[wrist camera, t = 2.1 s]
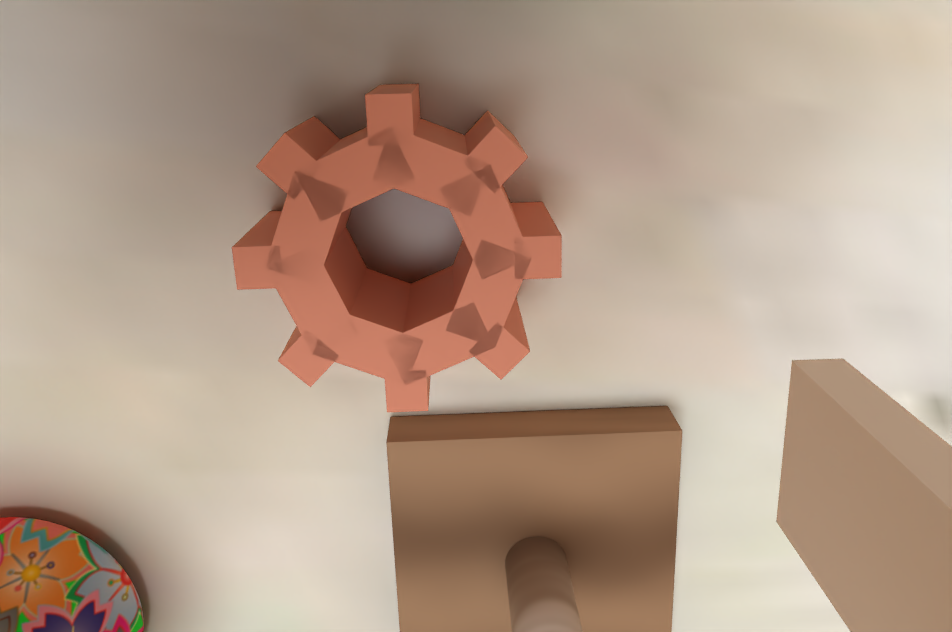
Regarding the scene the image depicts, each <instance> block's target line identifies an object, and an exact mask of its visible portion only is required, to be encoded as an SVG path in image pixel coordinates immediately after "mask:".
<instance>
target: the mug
mask: <svg viewBox="0 0 952 632" xmlns="http://www.w3.org/2000/svg"><path fill="white" fill-rule="evenodd" d="M143 630H144V619H143V611H142V606H141V602H140V599H139V596H138V594H137V591H136V589H135V587H134V585H133V583H132V581H131V580H130V578H129V576H128V575H127V573H126V572H125V571H124V569H123V568H122V567H121V565H120V564H119V563H118V562H117V561H116V560H115V559H114V558H113V557H112V556H111V555H110V554H109V553H108V552H107V551H106V550H104V549H103V548H102V547H101V546H100V545H98V544H97V543H95V542H94V541H92V540H91V539H89V538H87V537H86V536H84V535H82V534H80V533H78V532H76V531H74V530H72V529H70V528H67V527H64V526H62V525H59V524H55V523H52V522H48V521H44V520H39V519H32V518H22V517H2V518H0V632H143Z"/></svg>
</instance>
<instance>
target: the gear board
mask: <svg viewBox="0 0 952 632" xmlns="http://www.w3.org/2000/svg"><path fill="white" fill-rule="evenodd" d="M681 444H682V430H681V428H680V426H679V424H678V423H677V421H676V419H675V418H674V416H673V414H672V413H671V411H670V409H669V407H668V406H653V407H627V408H602V409H577V410H551V411H526V412H500V413H475V414H449V415H424V416H398V417H391V418H390V424H389V430H388V436H387V456H388V470H389V485H390V499H391V513H392V527H393V541H394V555H395V569H396V583H397V597H398V611H399V625H400V632H671V627H672V609H673V591H674V572H675V554H676V536H677V517H678V499H679V480H680V462H681Z"/></svg>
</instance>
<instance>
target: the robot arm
mask: <svg viewBox="0 0 952 632" xmlns="http://www.w3.org/2000/svg"><path fill="white" fill-rule="evenodd" d="M776 522H777V523H778V525H779V526H780V528H781V529H782V531H783V532H784V534H785V535H786V537H787V538H788V539H789V541H790V542H791V544H792V545H793V547H794V548H795V550H796V551H797V553H798V554H799V556H800V557H801V559H802V560H803V562H804V563H805V565H806V566H807V568H808V569H809V571H810V572H811V574H812V575H813V577H814V578H815V580H816V581H817V582H818V584H819V585H820V587H821V588H822V590H823V591H824V593H825V594H826V596H827V597H828V599H829V600H830V602H831V603H832V605H833V606H834V608H835V609H836V611H837V612H838V614H839V615H840V617H841V618H842V620H843V621H844V622H845V624H846V625H847V627H848V628H849V630H850V631H851V632H952V446H950V445H949V444H948V443H947V442H945V441H944V440H943V439H942V438H940V437H939V436H938V435H937V434H936V433H934V432H933V431H932V430H931V429H929V428H928V427H927V426H926V425H924V424H923V423H922V422H921V421H919V420H918V419H917V418H916V417H915V416H913V415H912V414H911V413H910V412H908V411H907V410H906V409H905V408H903V407H902V406H901V405H900V404H899V403H897V402H896V401H895V400H894V399H892V398H891V397H890V396H889V395H887V394H886V393H885V392H884V391H882V390H881V389H880V388H879V387H878V386H876V385H875V384H874V383H873V382H871V381H870V380H869V379H868V378H866V377H865V376H864V375H863V374H861V373H860V372H859V371H858V370H857V369H855V368H854V367H853V366H852V365H850V364H849V363H848V362H847V361H845V360H844V359H817V360H792V366H791V376H790V387H789V397H788V407H787V418H786V428H785V438H784V448H783V459H782V469H781V479H780V489H779V500H778V510H777V520H776Z"/></svg>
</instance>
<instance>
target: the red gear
mask: <svg viewBox="0 0 952 632" xmlns="http://www.w3.org/2000/svg"><path fill="white" fill-rule="evenodd" d="M365 103H366V117H367V127H366V128H363V129H361V130H359V131H357V132H355V133H353V134H351V135H348V136H346V137H344V138H342V139H339V138H338V137H337V136H336V135H335V134H334V133H333V132H332V131H331V130H329V129H328V128H327V127H326V126H325V125H324V124H323V123H322V122H321V121H320V120H318V119H317V118H316V117H315V116H314V117H312V118H310V119H308V120H307V121H305V122H303V123H301V124H299V125H298V126H296V127H294V128H292V129H291V130H289V131H287V132H285V133H284V134H283V135H282V137H281V138H280V139H279V140H278V141H277V142H276V144H275V145H274V146H273V147H272V148H271V149H270V151H269V152H268V153H267V154H266V155H265V156H264V158H263V159H262V160H261V161H260V162H259V163H258V165H257V166H256V167H257V168H258V169H259V170H260V171H261V172H263V173H264V174H265V175H266V176H267V177H268V178H270V179H271V180H272V181H273V182H274V183H275V184H276V185H278V186H279V187H280V188H281V189H282V190H283V191H284V192H286V193H287V197H286V200H285V203H284V206H283V210H282V211H270V212H269V213H268V214H266V215H265V216H264V217H263V218H262V219H261V220H260V221H259V222H258V223H257V224H256V225H255V226H254V227H253V228H252V229H251V230H250V231H249V232H247V233H246V234H245V235H244V236H243V237H242V238H241V239H240V240H239V241H238V242H237V243H236V244H235V245H234V246H233V247H232V253H233V260H234V268H235V276H236V284H237V290H239V289H266V288H276V289H277V291H278V293H279V295H280V296H281V298H282V300H283V302H284V304H285V305H286V307H287V309H288V311H289V313H290V315H291V316H292V318H293V320H294V322H295V324H296V325H297V326H296V328H295V330H294V332H293V334H292V335H291V337H290V339H289V341H288V343H287V345H286V347H285V348H284V350H283V352H282V354H281V356H280V358H279V360H278V361H279V362H280V363H281V364H282V365H284V366H285V367H286V368H287V369H289V370H290V371H291V372H292V373H294V374H295V375H296V376H297V377H298V378H300V379H301V380H302V381H303V382H305V383H306V384H307V385H308V386H310V387H311V386H312V385H313V384H314V383H315V382H316V381H317V380H318V378H319V377H320V376H321V375H322V374H323V373H324V372H325V371H326V370H327V369H328V368H329V367H330V366H331V365H332V364H333V363H334V362H337V363H340V364H343V365H346V366H349V367H352V368H355V369H358V370H361V371H364V372H367V373H370V374H373V375H376V376H378V377H381V378H384V379H385V389H386V403H387V412H408V411H428V405H429V389H430V375H432V374H435V373H437V372H439V371H441V370H444V369H446V368H448V367H451V366H453V365H455V364H458V363H460V362H462V361H465V360H467V359H469V358H472V357H476V358H477V359H478V360H479V361H480V362H481V363H482V364H484V365H485V366H486V367H487V368H488V369H489V370H490V371H492V372H493V373H494V374H495V375H496V376H497V377H499V378H500V379H502V378H503V377H504V376H505V375H506V374H507V373H508V372H509V371H510V370H511V369H513V368H514V367H515V366H516V365H517V364H518V363H519V362H520V361H521V360H522V359H523V358H524V357H525V356H526V355H527V354H528V353H529V352H530V349H529V345H528V341H527V337H526V333H525V329H524V325H523V321H522V317H521V314H520V310H519V306H518V302H517V299H516V295H517V293H518V290H519V288H520V285H521V283H522V281H523V279H540V278H561V234H560V232H559V230H558V229H557V227H556V225H555V223H554V221H553V220H552V218H551V216H550V214H549V212H548V211H547V209H546V207H545V205H544V204H543V202H520V203H510V201H509V199H508V197H507V194H506V192H505V190H504V188H503V185H502V184H503V183H504V182H505V181H506V180H507V179H508V178H509V177H510V176H511V175H512V174H513V173H514V172H515V171H516V170H517V169H518V168H519V166H520V165H521V164H522V163H523V162H524V161H525V160H526V159H527V158H528V156H527V155H526V153H525V152H524V150H523V149H522V147H521V146H520V144H519V142H518V141H517V139H516V138H515V136H514V135H513V134H512V133H510V132H509V131H508V130H507V129H506V128H505V127H504V126H503V125H502V124H501V123H500V122H499V121H498V120H497V119H496V118H495V117H494V116H493V115H492V114H491V113H490V112H489V111H488V110H487V112H486V113H485V114H484V115H483V116H482V117H481V118H480V119H479V120H478V121H477V122H476V124H475V125H474V126H473V127H472V128H471V129H470V130H469V131H468V132H467V133H466V134H465V135H463V134H460V133H458V132H455V131H453V130H450V129H447V128H445V127H442V126H440V125H437V124H434V123H432V122H429V121H427V120H424V119H421V118H420V101H419V84H388V85H379V86H378V87H376V88H375V89H373V90H372V91H370V92H368V93H367V94H365ZM394 188H395V189H397V190H400V191H403V192H405V193H408V194H411V195H414V196H416V197H419V198H422V199H424V200H427V201H430V202H432V203H435V204H438V205H441V206H443V207H446V208H449V209H450V211H451V214H452V216H453V218H454V220H455V222H456V224H457V227H458V229H459V231H460V233H461V235H462V237H463V240H462V243H461V245H460V248H459V251H458V253H457V256H456V258H455V261H454V264H453V265H452V266H450V267H447V268H445V269H443V270H441V271H438V272H436V273H434V274H432V275H429V276H427V277H425V278H423V279H420V280H418V281H416V282H414V283H411V284H410V283H408V282H405V281H402V280H399V279H396V278H393V277H391V276H388V275H385V274H382V273H379V272H376V271H374V270H371V269H368V268H367V267H366V265H365V263H364V261H363V259H362V257H361V256H360V254H359V252H358V250H357V248H356V246H355V244H354V242H353V240H352V238H351V236H350V234H349V232H348V230H347V228H346V224H347V221H348V218H349V215H350V212H351V209H352V207H354V206H356V205H359V204H361V203H363V202H365V201H367V200H370V199H372V198H374V197H376V196H378V195H380V194H383V193H385V192H387V191H389V190H391V189H394Z"/></svg>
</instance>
